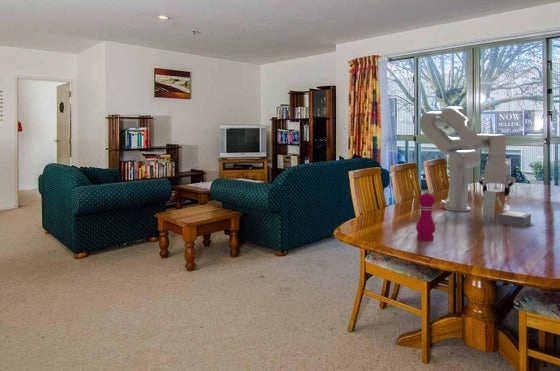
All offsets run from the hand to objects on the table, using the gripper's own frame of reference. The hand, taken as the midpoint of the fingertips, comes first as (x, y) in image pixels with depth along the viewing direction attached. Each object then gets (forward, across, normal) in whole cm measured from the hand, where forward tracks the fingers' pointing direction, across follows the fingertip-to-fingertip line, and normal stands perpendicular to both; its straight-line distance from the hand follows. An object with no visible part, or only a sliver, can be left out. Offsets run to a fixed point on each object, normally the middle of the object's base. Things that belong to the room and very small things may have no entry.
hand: (495, 194), depth 209 cm
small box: (+11, -1, 0) cm, 11 cm away
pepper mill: (+12, -7, -62) cm, 63 cm away
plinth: (+11, +10, -7) cm, 17 cm away
